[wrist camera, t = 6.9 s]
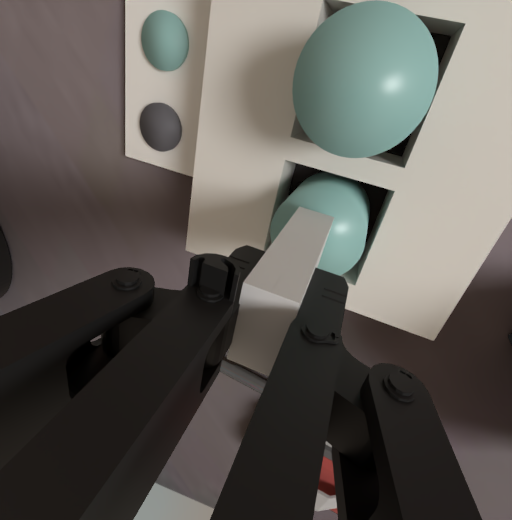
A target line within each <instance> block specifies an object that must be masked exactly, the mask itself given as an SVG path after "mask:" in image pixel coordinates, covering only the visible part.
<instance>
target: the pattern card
mask: <svg viewBox="0 0 512 520" xmlns="http://www.w3.org/2000/svg"><path fill="white" fill-rule="evenodd" d="M210 9H211V0H125V156H128V157H131V158H134V159H137V160H140V161H143V162H147V163H150V164H153V165H156V166H159V167H162V168H166V169H169V170H172V171H175V172H178V173H182V174H185V175H188V176H191V177H193V173H194V164H195V154H196V144H197V135H198V125H199V116H200V106H201V96H202V87H203V77H204V67H205V58H206V48H207V38H208V29H209V19H210Z"/></svg>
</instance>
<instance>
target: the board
mask: <svg viewBox="0 0 512 520" xmlns="http://www.w3.org/2000/svg"><path fill="white" fill-rule="evenodd" d="M364 1H375V0H211V9H210V19H209V29H208V38H207V48H206V58H205V67H204V77H203V87H202V96H201V106H200V116H199V125H198V135H197V144H196V154H195V164H194V173H193V183H192V193H191V202H190V212H189V222H188V231H187V241H186V251H189V252H192V253H194V254H197V255H199V254H204V253H213V254H219V255H223V256H226V257H229V255H230V254H231V253H232V252H233V251H234V250H235V249H237V248H239V247H242V246H245V245H248V246H251V247H254V248H257V249H260V250H263V251H267V250H268V248H269V247H270V246H271V244H272V242H271V235H270V228H271V222H272V219H273V217H274V214H275V212H276V211H277V209H278V208H279V207H280V205H281V204H282V203H283V202H284V201H285V200H286V199H287V197H288V193H289V189H290V186H291V182H292V178H293V174H294V170H295V166H296V163H298V164H301V165H305V166H308V167H312V168H315V169H319V170H322V171H326V172H329V173H333V174H336V175H340V176H343V177H347V178H350V179H354V180H357V181H361V182H364V183H368V184H371V185H375V186H378V187H382V188H385V189H388V192H387V194H386V197H385V199H384V202H383V204H382V207H381V209H380V211H379V214H378V216H377V219H376V221H375V224H374V226H373V228H372V231H371V233H370V236H369V238H368V241H367V243H366V246H365V248H364V251H363V253H362V255H361V258H360V260H358V262H357V263H356V264H355V265H354V266H353V267H352V268H351V269H350V270H349V271H347V272H346V273H344V274H342V275H340V276H342V277H344V278H345V280H346V282H347V284H348V286H349V289H348V294H347V300H346V304H345V309H347V310H350V311H353V312H356V313H358V314H361V315H364V316H367V317H369V318H372V319H375V320H377V321H380V322H383V323H386V324H388V325H391V326H394V327H397V328H399V329H402V330H405V331H408V332H410V333H413V334H416V335H418V336H421V337H424V338H427V339H429V340H432V341H434V340H435V338H436V337H437V335H438V333H439V332H440V330H441V329H442V327H443V326H444V324H445V322H446V321H447V319H448V318H449V316H450V314H451V313H452V311H453V310H454V308H455V306H456V305H457V303H458V302H459V300H460V299H461V297H462V295H463V294H464V292H465V291H466V289H467V287H468V286H469V284H470V283H471V281H472V279H473V278H474V276H475V275H476V273H477V272H478V270H479V268H480V267H481V265H482V264H483V262H484V260H485V259H486V257H487V256H488V254H489V252H490V251H491V249H492V248H493V246H494V244H495V243H496V241H497V240H498V238H499V237H500V235H501V233H502V232H503V230H504V229H505V227H506V225H507V224H508V222H509V221H510V219H511V217H512V0H378V1H388V2H391V3H395V4H398V5H400V6H403V7H405V8H407V9H408V10H410V11H411V12H413V13H414V14H415V15H416V16H417V17H418V18H419V19H420V20H421V21H422V22H423V23H424V25H425V26H426V27H427V29H428V30H429V32H433V33H438V34H443V35H449V36H451V38H450V41H449V43H448V46H447V48H446V51H445V53H444V55H443V58H442V60H441V63H440V65H439V68H438V81H437V86H436V90H435V94H434V97H433V100H432V102H431V105H430V107H429V109H428V111H427V113H426V114H425V116H424V117H423V119H422V121H421V122H420V123H419V125H418V126H417V127H416V128H415V130H414V131H413V132H412V133H411V136H410V138H409V141H408V143H407V146H406V148H405V150H404V153H403V155H402V156H398V155H394V154H390V153H387V152H382V153H380V154H377V155H374V156H369V157H364V158H346V157H341V156H337V155H334V154H331V153H329V152H327V151H325V150H323V149H322V148H320V147H319V146H317V145H316V144H315V143H314V142H313V141H312V140H311V139H310V138H309V137H308V136H307V134H306V133H305V132H304V130H303V128H302V127H301V125H300V123H299V121H298V119H297V116H296V112H295V109H294V104H293V94H292V87H293V77H294V71H295V68H296V64H297V61H298V58H299V56H300V54H301V51H302V49H303V48H304V46H305V44H306V42H307V41H308V39H309V38H310V36H311V35H312V34H313V32H314V31H315V30H316V29H317V28H318V27H319V26H320V25H321V24H322V23H323V22H324V21H325V20H326V19H327V18H329V17H330V16H332V15H333V14H334V13H336V12H337V11H339V10H341V9H343V8H345V7H347V6H350V5H353V4H355V3H360V2H364Z"/></svg>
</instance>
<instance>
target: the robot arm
mask: <svg viewBox="0 0 512 520" xmlns="http://www.w3.org/2000/svg"><path fill="white" fill-rule="evenodd" d="M333 220H334V217H332V216H329V215H325V214H322V213H319V212H316V211H313V210H309V209H306V208H303V207H300V206H299V208H298V209H297V210H296V212H295V213H294V214H293V216H292V217H291V218H290V220H289V221H288V223H287V224H286V225H285V227H284V228H283V229H282V231H281V232H280V233H279V235H278V236H277V237H276V239H275V240H274V241H273V243H272V244H271V246H270V247H269V248H268V250H267V251H263V250H260V249H257V248H254V247H251V246H248V245H245V246H242V247H239V248H237V249H235V250H234V251H233V252H232V253H231V254H230V255H229V257H226V256H223V255H219V254H213V253H204V254H199V255H196V256H194V257H192V258H191V259H190V267H189V276H188V285H187V286H186V287H185V288H184V289H183V290H169V289H163V288H156V287H154V286H155V282H154V278H153V276H151V275H150V274H149V273H148V272H146V271H144V270H141V269H138V268H131V267H127V268H118V269H114V270H110V271H108V272H105V273H103V274H101V275H98V276H96V277H93V278H91V279H89V280H86V281H84V282H81V283H79V284H76V285H74V286H72V287H69V288H67V289H64V290H62V291H60V292H57V293H55V294H52V295H50V296H48V297H45V298H43V299H40V300H38V301H35V302H33V303H31V304H28V305H26V306H23V307H21V308H19V309H16V310H14V311H11V312H9V313H6V314H4V315H2V316H0V520H133V519H134V517H135V516H136V514H137V512H138V510H139V509H140V507H141V505H142V504H143V502H144V500H145V498H146V497H147V495H148V493H149V491H150V490H151V488H152V486H153V485H154V483H155V481H156V480H157V478H158V476H159V475H160V473H161V471H162V469H163V468H164V466H165V464H166V463H167V461H168V459H169V457H170V456H171V454H172V452H173V451H174V449H175V447H176V445H177V444H178V442H179V440H180V439H181V437H182V435H183V433H184V432H185V430H186V428H187V427H188V425H189V423H190V421H191V420H192V418H193V416H194V415H195V413H196V411H197V409H198V408H199V406H200V404H201V403H202V401H203V399H204V397H205V396H206V394H207V392H208V391H209V389H210V387H211V385H212V384H213V382H214V380H215V379H216V377H217V375H218V373H219V371H220V368H221V364H222V359H223V357H224V355H225V354H226V352H227V350H228V349H229V351H228V355H227V359H228V360H231V361H233V362H236V363H238V364H240V365H243V366H245V367H248V368H250V369H252V370H255V371H257V372H259V373H262V374H264V375H267V376H269V377H268V380H267V382H266V384H265V387H264V389H263V392H262V394H261V397H260V399H259V401H258V404H257V406H256V409H255V411H254V414H253V416H252V419H251V421H250V423H249V426H248V428H247V431H246V433H245V436H244V438H243V440H242V443H241V445H240V448H239V450H238V453H237V455H236V458H235V460H234V462H233V465H232V467H231V470H230V472H229V475H228V477H227V479H226V482H225V484H224V487H223V489H222V492H221V494H220V497H219V499H218V501H217V504H216V506H215V509H214V511H213V514H212V516H211V519H210V520H313V515H314V509H315V503H316V497H317V491H318V485H319V479H320V474H321V468H322V462H323V456H324V450H325V444H326V441H327V442H328V443H329V444H331V445H332V449H331V453H332V463H333V473H334V483H335V493H336V503H337V513H338V520H482V518H481V516H480V513H479V511H478V509H477V506H476V504H475V502H474V499H473V497H472V494H471V492H470V490H469V487H468V485H467V483H466V480H465V478H464V475H463V473H462V471H461V468H460V466H459V464H458V461H457V459H456V456H455V454H454V452H453V449H452V447H451V445H450V442H449V440H448V437H447V435H446V433H445V430H444V428H443V425H442V423H441V421H440V418H439V416H438V414H437V411H436V409H435V406H434V404H433V402H432V399H431V397H430V395H429V393H428V391H427V390H426V388H425V386H424V385H423V383H422V382H421V381H420V380H418V379H417V378H416V377H415V376H414V375H413V374H412V373H410V372H408V371H407V370H405V369H404V368H401V367H399V366H396V365H393V364H385V363H381V364H378V365H375V366H373V367H372V369H370V368H369V367H367V366H366V365H364V364H363V363H361V362H360V361H358V360H357V359H356V358H354V357H353V356H352V355H351V354H350V353H349V352H348V351H347V350H346V348H345V347H344V345H343V343H342V336H341V335H340V333H341V327H342V322H343V316H344V311H345V304H346V300H347V294H348V289H349V286H348V284H347V282H346V280H345V278H344V277H342V276H339V275H336V274H333V273H330V272H327V271H324V270H322V269H319V268H317V267H318V264H319V261H320V258H321V255H322V252H323V249H324V246H325V244H326V241H327V238H328V235H329V232H330V229H331V226H332V223H333ZM11 278H12V266H11V259H10V254H9V250H8V247H7V244H6V241H5V239H4V236H3V234H2V232H1V229H0V298H1V297H2V296H3V295H4V294H5V293H6V292H7V290H8V289H9V286H10V283H11ZM99 335H101V338H100V339H98V340H96V341H93V342H90V340H92V339H94V338H95V337H97V336H99Z"/></svg>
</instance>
